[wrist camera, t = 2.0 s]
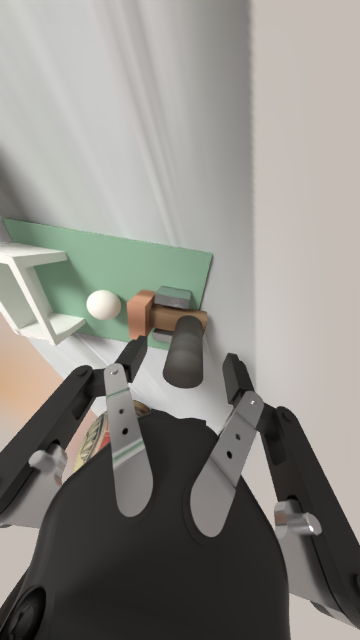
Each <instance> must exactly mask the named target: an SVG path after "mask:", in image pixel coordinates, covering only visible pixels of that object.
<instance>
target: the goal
mask: <svg viewBox="0 0 360 640" xmlns="http://www.w3.org/2000/svg"><path fill="white" fill-rule="evenodd" d="M65 260H67V256H66V253H65V251H60V250H54V249H48V248H43V247H37V246H31V245H26V244H20V243H0V311H1V313H2V314H3V316H4V317H5V319H6V320H7V322H8V323H9V325H10V326H11V328H12V329H13V331H14V332H15V334H19V335H23V336H28V337H33V338H38V339H43V340H48V341H49V343H50V345H54V346H56V345H58V344H59V343H60V342H62V341H63V340H64V339H66V338H67V337H68V336H70V335H71V334H72V333H74V332H75V331H76V330H78V329H79V328H80V327H82V326H83V325H84V324H86V321H85V318H80V317H75V316H70V315H65V314H60V313H54V312H53V311H52V309H51V306H50V304H49V302H48V299H47V297H46V295H45V292H44V290H43V288H42V285H41V283H40V281H39V278H38V276H37V274H36V271H35V269H34V267H33V266H35V265H41V264H47V263H53V262H59V261H65Z"/></svg>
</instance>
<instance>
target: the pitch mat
mask: <svg viewBox="0 0 360 640" xmlns="http://www.w3.org/2000/svg"><path fill="white" fill-rule="evenodd" d="M2 220H3V222H4V225H5V227H6V229H7V231H8V233H9V235H10V237H11V240H12V242H13V243H20V244H26V245H31V246H37V247H43V248H48V249H54V250H60V251H65V253H66V256H67V260H65V261H59V262H53V263H47V264H41V265H35V266H33V267H34V269H35V271H36V274H37V276H38V278H39V281H40V283H41V285H42V288H43V290H44V292H45V295H46V297H47V299H48V302H49V304H50V306H51V309H52V311H53V312H54V313H60V314H65V315H70V316H75V317H80V318H85V321H86V324H84V325H83V326H82V327H80V328H79V329H78V330H76V331H75V332H78V333H83V334H89V335H94V336H99V337H104V338H109V339H114V340H119V341H124V342H130V341H131V340H133V339H130V337H129V325H128V313H127V302H128V301H129V300H131V299H132V298H133V297H134V296H135V295H136V294H137V293H138V292H140V291H141V290H142V289H143V290H149V291H154V292H156V291H157V290H158V289H159V288H160V286H161V285H162V286H168V287H173V288H179V289H184V290H190V291H191V297H190V302H189V307H188V309H194V310H199V307H200V302H201V298H202V294H203V290H204V286H205V282H206V278H207V274H208V270H209V266H210V262H211V258H212V253H207V252H201V251H195V250H189V249H184V248H178V247H172V246H166V245H160V244H154V243H148V242H142V241H137V240H131V239H125V238H119V237H113V236H107V235H101V234H96V233H90V232H84V231H78V230H72V229H66V228H60V227H54V226H49V225H43V224H37V223H31V222H25V221H19V220H13V219H8V218H2ZM99 290H107V291H111V292H113V293H114V294H116V295H117V296H118V298H119V299H120V302H121V310H120V312H119V314H118V315H117V316H116V317H115V318H113V319H110V320H99V319H97V318H95V317H93V316H92V315H91V314H90V313H89V311H88V309H87V300H88V298H89V296H90V295H91V294H92V293H94V292H96V291H99ZM154 330H155V328H152V330H151V332H150V334H149V336H148V346H149V347H154V348H159V349H165V350H169V348H170V344H171V343H169V342H164V341H159V340H154V339H153V332H154Z"/></svg>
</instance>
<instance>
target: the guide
mask: <svg viewBox="0 0 360 640" xmlns="http://www.w3.org/2000/svg"><path fill="white" fill-rule="evenodd" d="M190 297H191V291H190V290H184V289H179V288H173V287H168V286H162V285H161V286H160V288H159V289H158V290H157V291H156V293H155V300H154V303H156V304H162V305H167V306H173V307H178V308H183V309H188V307H189V302H190ZM173 333H174V331H169V330H164V329H158V328H155V330H154V332H153V339H154V340H159V341H164V342H169V343H171V341H172V337H173Z"/></svg>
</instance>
